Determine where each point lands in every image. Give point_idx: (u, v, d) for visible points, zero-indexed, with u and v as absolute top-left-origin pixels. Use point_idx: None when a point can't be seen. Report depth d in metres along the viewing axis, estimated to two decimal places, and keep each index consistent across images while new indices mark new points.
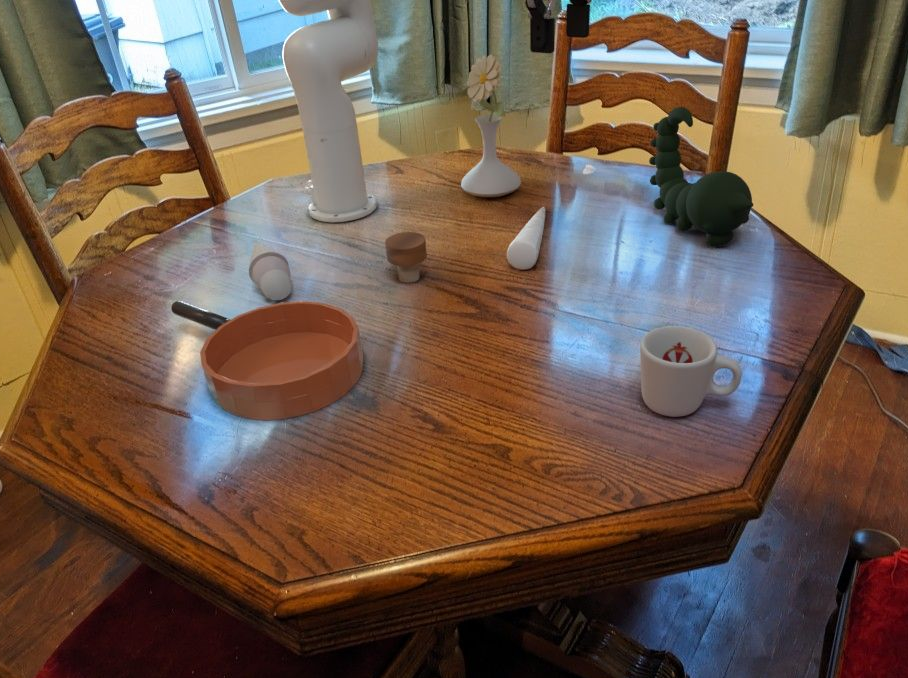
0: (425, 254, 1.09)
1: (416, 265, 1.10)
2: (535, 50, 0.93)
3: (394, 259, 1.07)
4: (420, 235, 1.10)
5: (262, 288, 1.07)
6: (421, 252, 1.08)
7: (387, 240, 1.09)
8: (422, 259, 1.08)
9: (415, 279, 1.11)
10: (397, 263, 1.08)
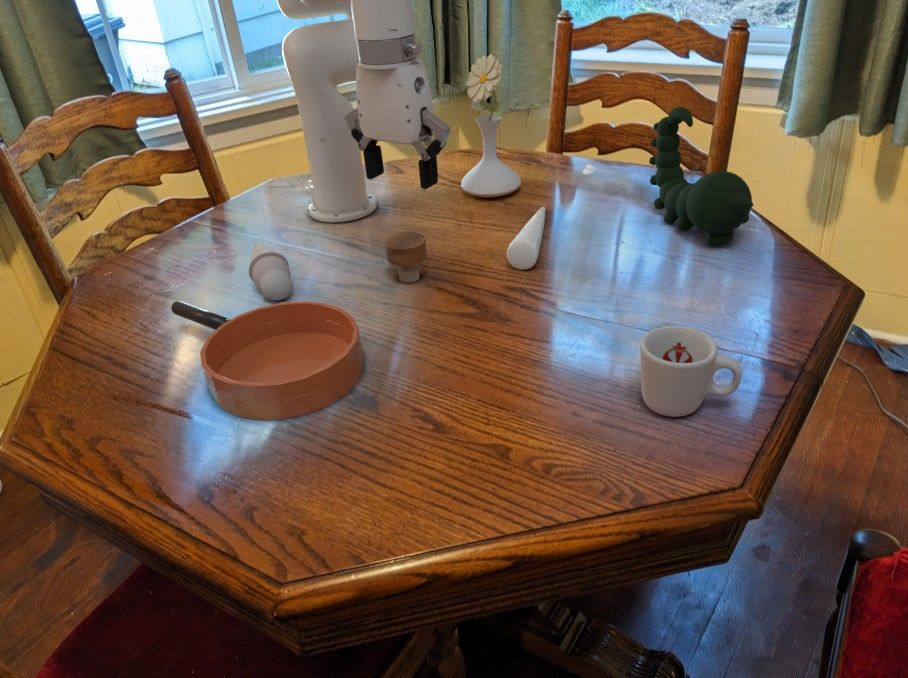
0: (425, 254, 1.09)
1: (416, 265, 1.10)
2: None
3: (394, 259, 1.07)
4: (420, 235, 1.10)
5: (262, 288, 1.07)
6: (421, 252, 1.08)
7: (387, 240, 1.09)
8: (422, 259, 1.08)
9: (415, 279, 1.11)
10: (397, 263, 1.08)
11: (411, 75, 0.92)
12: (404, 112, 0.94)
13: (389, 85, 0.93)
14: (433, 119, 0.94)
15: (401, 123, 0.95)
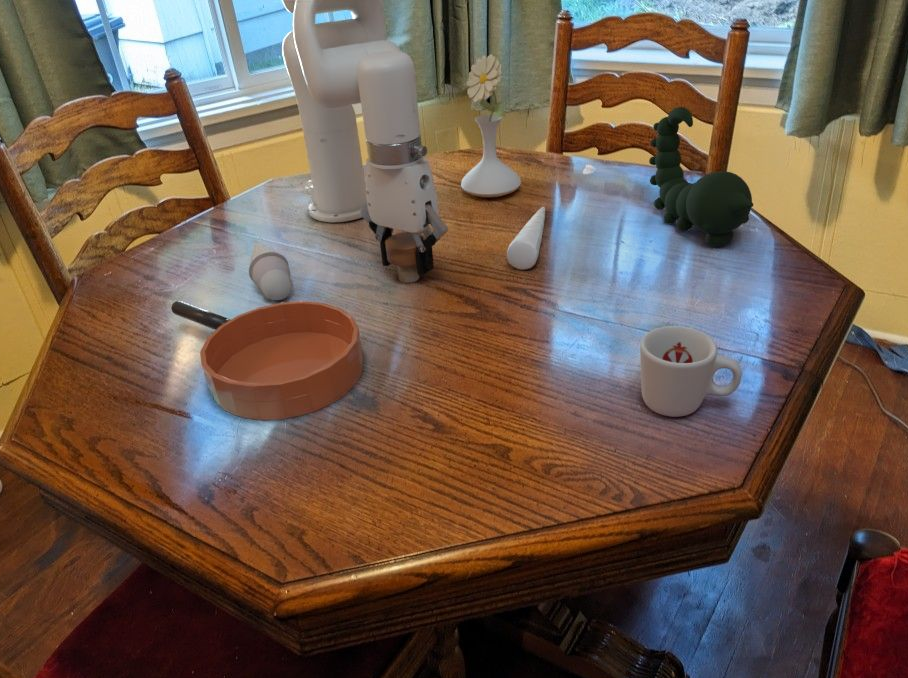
0: None
1: (416, 265, 1.10)
2: None
3: (394, 259, 1.07)
4: None
5: (262, 288, 1.07)
6: None
7: (387, 240, 1.09)
8: None
9: (415, 279, 1.11)
10: (397, 263, 1.08)
11: (417, 174, 0.99)
12: (410, 206, 1.01)
13: (396, 182, 1.00)
14: (435, 219, 1.02)
15: (408, 215, 1.02)
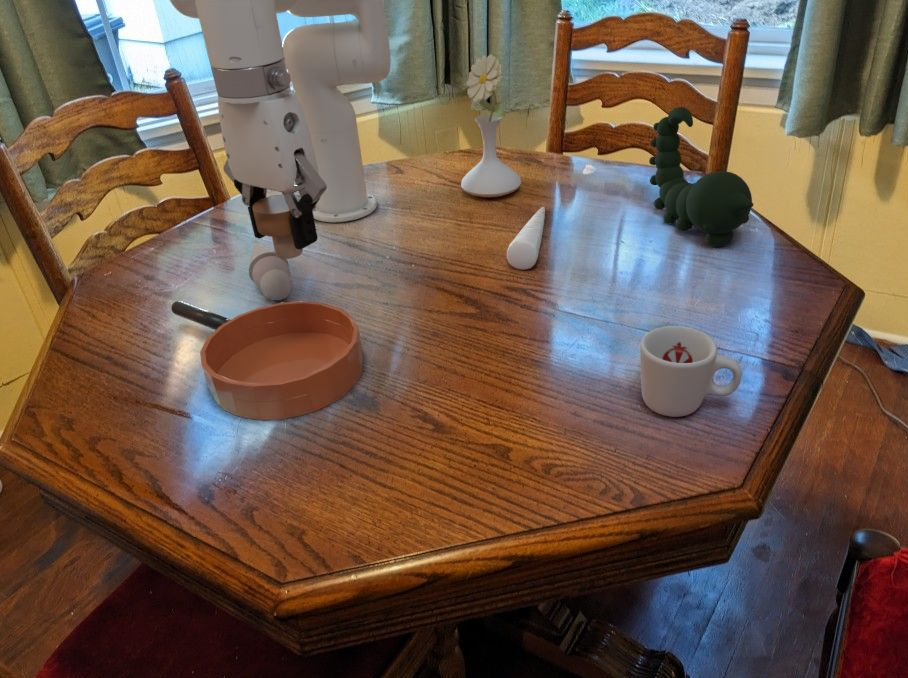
0: None
1: None
2: None
3: (263, 227, 0.83)
4: (300, 197, 0.85)
5: (262, 288, 1.07)
6: None
7: (256, 203, 0.84)
8: None
9: (295, 254, 0.86)
10: (268, 233, 0.83)
11: (279, 111, 0.75)
12: (273, 154, 0.77)
13: (254, 122, 0.76)
14: (308, 173, 0.78)
15: (272, 167, 0.78)
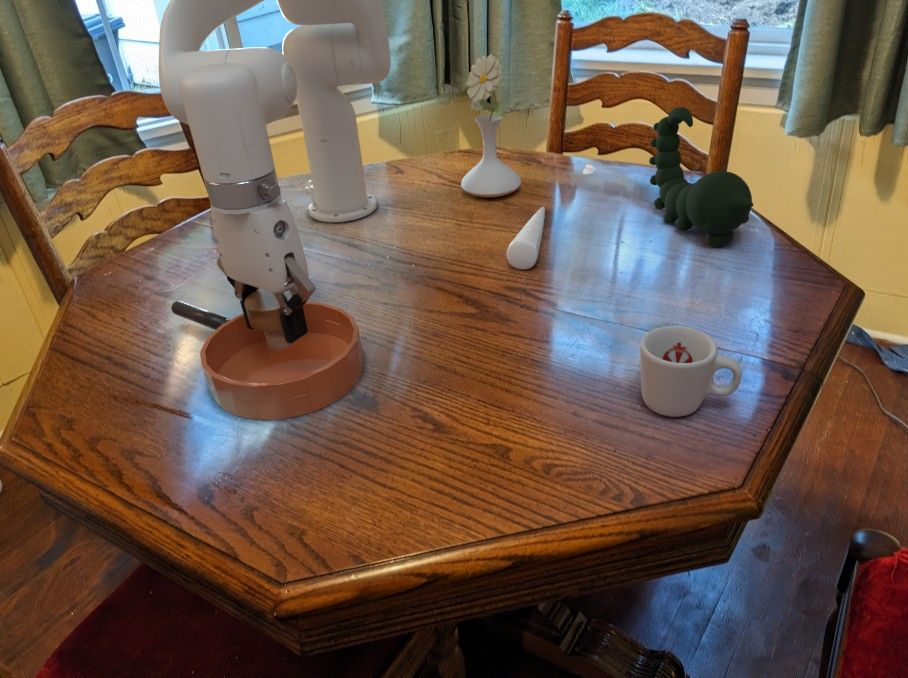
0: None
1: None
2: None
3: (255, 322, 0.86)
4: None
5: None
6: None
7: (248, 298, 0.87)
8: None
9: (286, 345, 0.89)
10: (259, 328, 0.86)
11: (269, 220, 0.77)
12: (264, 259, 0.79)
13: (245, 230, 0.78)
14: (297, 276, 0.80)
15: (263, 271, 0.81)
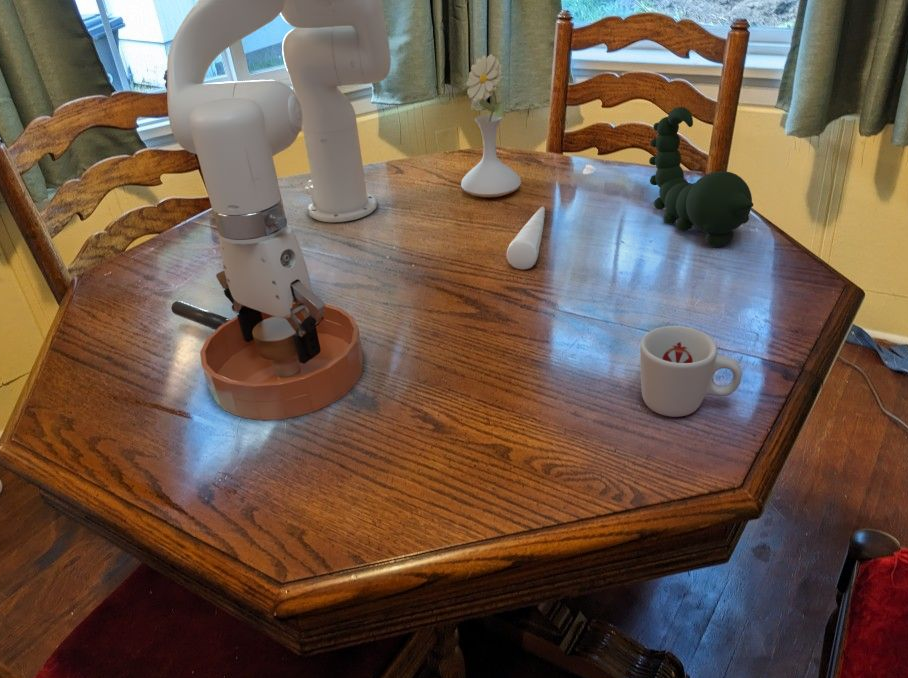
0: None
1: (293, 357, 0.91)
2: None
3: (263, 351, 0.88)
4: None
5: None
6: None
7: (256, 327, 0.89)
8: None
9: (293, 373, 0.91)
10: (267, 357, 0.88)
11: (276, 250, 0.79)
12: (271, 287, 0.82)
13: (252, 259, 0.80)
14: (305, 296, 0.82)
15: (270, 297, 0.83)
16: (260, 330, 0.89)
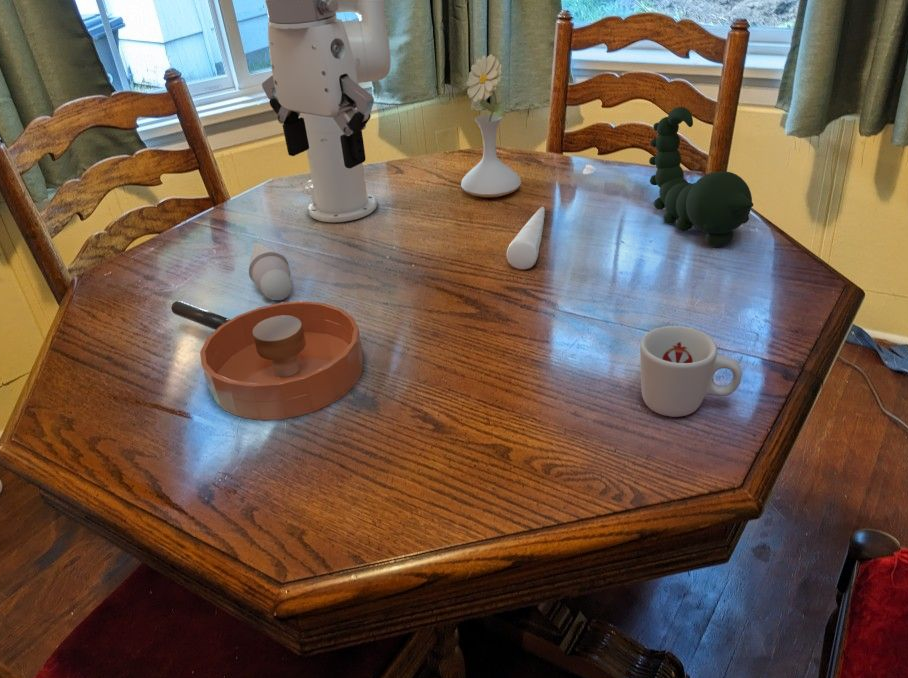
0: (302, 344, 0.90)
1: (293, 357, 0.91)
2: None
3: (263, 351, 0.88)
4: (297, 321, 0.90)
5: (262, 288, 1.07)
6: (295, 343, 0.88)
7: (256, 327, 0.89)
8: (298, 351, 0.89)
9: (293, 373, 0.91)
10: (267, 357, 0.88)
11: (327, 36, 0.80)
12: (320, 79, 0.82)
13: (302, 48, 0.81)
14: (354, 89, 0.82)
15: (319, 92, 0.83)
16: (260, 330, 0.89)
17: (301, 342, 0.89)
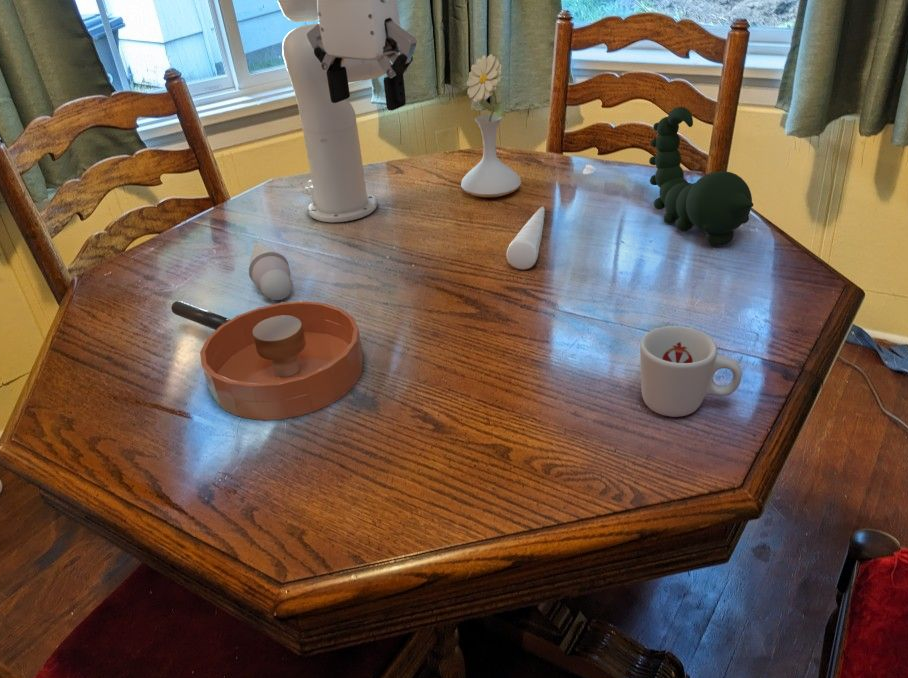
0: (302, 344, 0.90)
1: (293, 357, 0.91)
2: None
3: (263, 351, 0.88)
4: (297, 321, 0.90)
5: (262, 288, 1.07)
6: (295, 343, 0.88)
7: (256, 327, 0.89)
8: (298, 351, 0.89)
9: (293, 373, 0.91)
10: (267, 357, 0.88)
11: None
12: (367, 22, 0.87)
13: None
14: (398, 31, 0.88)
15: (365, 35, 0.89)
16: (260, 330, 0.89)
17: (301, 342, 0.89)
